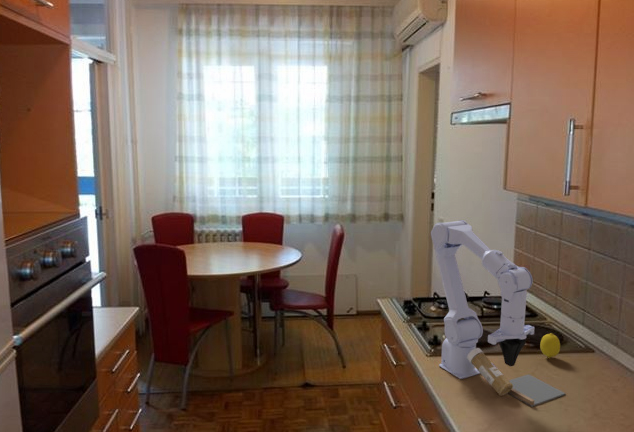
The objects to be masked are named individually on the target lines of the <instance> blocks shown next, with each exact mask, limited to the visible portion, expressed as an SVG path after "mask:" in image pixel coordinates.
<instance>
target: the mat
mask: <svg viewBox="0 0 634 432" xmlns="http://www.w3.org/2000/svg"><path fill="white" fill-rule="evenodd" d="M508 381H509V382H510V383H512V384H513V387H512V389H511V390H510V391H509V392H508V393H507V394H508V395H510V396H512V397H513V398H515V399H517V400H519V401H521V402H522V403H524V404H525V405H527V406H529V407H531V408H532V407H535V406H538V405H541V404H544V403H546V402H548V401H551V400H552V401H553V400H555V399H558V398H560V397H563V396H566V392H564V391H562V390H560V389H559V388H556V387H554V386H552V385H550V384H549V383H546V382H544V381H543V380H540V379H539V378H536V377H535V376H533V375H531V374H525V375H522V376H519V377H516V378H511V379H508Z"/></svg>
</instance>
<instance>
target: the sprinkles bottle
mask: <svg viewBox="0 0 634 432" xmlns="http://www.w3.org/2000/svg"><path fill="white" fill-rule="evenodd" d="M467 359H468V360H469V361H470V363H472V364H473V365H474V366H475V368H476V369H477V370H478V371H479V372H480V375H481V376H482V377H483V378H484V379H485V380H486V382H487V383H488V384H489V385H490V386H491V387H492V388H493V389H494V390H495V392H497V393H498V395H499V396H500V397H502V396H505V395H507V394H508V392H509V391H510V390H511V389H512V387H513V384H512V383H510V382H509V379H508V378H506V376H505V375H504V374H503V373H502V372H501V370H500V369H499V368H498V367H497V366H496V365H495V364H494V363H493V362H492V361H491V360H490V359H489V358H488V356H487V355H485V352H484V351H482V349H481V348H480V347H476V348H475V349H473V350H472V351H471V352H470V353H469V354H468V356H467Z"/></svg>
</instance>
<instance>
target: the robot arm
mask: <svg viewBox="0 0 634 432" xmlns="http://www.w3.org/2000/svg"><path fill="white" fill-rule="evenodd" d="M430 237H431V241H432V246H433V249H434V253H435V254H434V255H435V258H436V262H437V266H438V269H439V275H440V278H441V282H442V287H443V290H444V295H445V298H446V301H447V306H448V307H447V308H448V313H447V314H446V315H445V317H444V318H443V323H444V335H445V339H444V340H443V342H442V344H441V361H440V362H441V363H439V364H438V366H439V367H440V368H442V369H443V370H445V371H447V372H448V373H450V375H452V376H455V377H456V378H458V379H460V380H463V379H467V378H469V377H474V376H478V375H479V374H480V375H481V373H480V372H479V371H478V370H477V368H476V367H475V366H474V365H473V364H472V363H470V361H469V360H468V359H467V356H468V354H469V353H470V352H471V351H472V350H473V349H475V348H477V343H479V339H481V337H482V336H483V333H484V330H483V329H484V327H483V325H482V322H481V321H480V319H479V317H478V314H477V312H476V311H474V309H471V308H470V307H469V305H468V302H467V297H466V293H465V289H464V286H463V282H462V277H461V274H460V269H459V266H458V262H457V258H456V254H457V251H458V250H459V249H461V247H462V246H463V247H465V248H466V249H468V250H469V251H470V252H472V253H473V254H474V255H476V256H477V257H478V258H479V259H481V267H483V268H484V269H485V270H487V272H489V273H490V274H491V275H492V277H494V278H495V279H496V280H497V284H498V287H499V289H500V297H501V309H500V325H499V328H498V329H497V330H495V331H494V332H492V333H490V334H488V335H487V343H489V344H491V345H497V343H498V345H499V346H500V349H501V352H502V356H503V361H504V364H505V365H507V366H509V367H514V366H515V365H516V363H517V359H518V357H519V355H520V352H521V350H522V348H523V347H524V346H525V345H526V341H527V340H526V339H527V335H531V336H532V335H533V336H534V335H535V326H532V325H530V324H525V319H526V306H527V304H526V303H527V293H528V292H527V291H528V290H529V289H531V287H532V285H533V282H534V279H533V276H532V273H531V272H530V271H529V270H528V268H527V267H524V266H518V265H516V264H515V263H514V262H512V261H511V260H510V259H508V258H507V257H506V256H505V255H504V253H503V252H502V251H501V250H498V249H490V248H489V247H488V246H487V244H486V243H484V242H483V240H482V239H481V238H480V237H478V235H477V234H475V233H474V231H473V226H472V225H470V224H469V223H468V222H467V221H465V220H464V219H460V220H456V221H455V220H454V221H447V222H437V223H435V224H434V225H433V227H432V229H431V231H430Z"/></svg>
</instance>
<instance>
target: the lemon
mask: <svg viewBox="0 0 634 432" xmlns="http://www.w3.org/2000/svg"><path fill="white" fill-rule="evenodd" d="M539 345H540V346H539V347H540V351H541V353H542V354H543V355H544V356H546V357H547V358H548V359H551V358H553V357H556V356H557V355H558V354H559V352H560V350H561V343H560V339H559V337H558V336H557V335H555V334H554V333H552V332H550V333H547V334H545V335H543V336H542V337H541V339H540V344H539Z"/></svg>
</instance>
